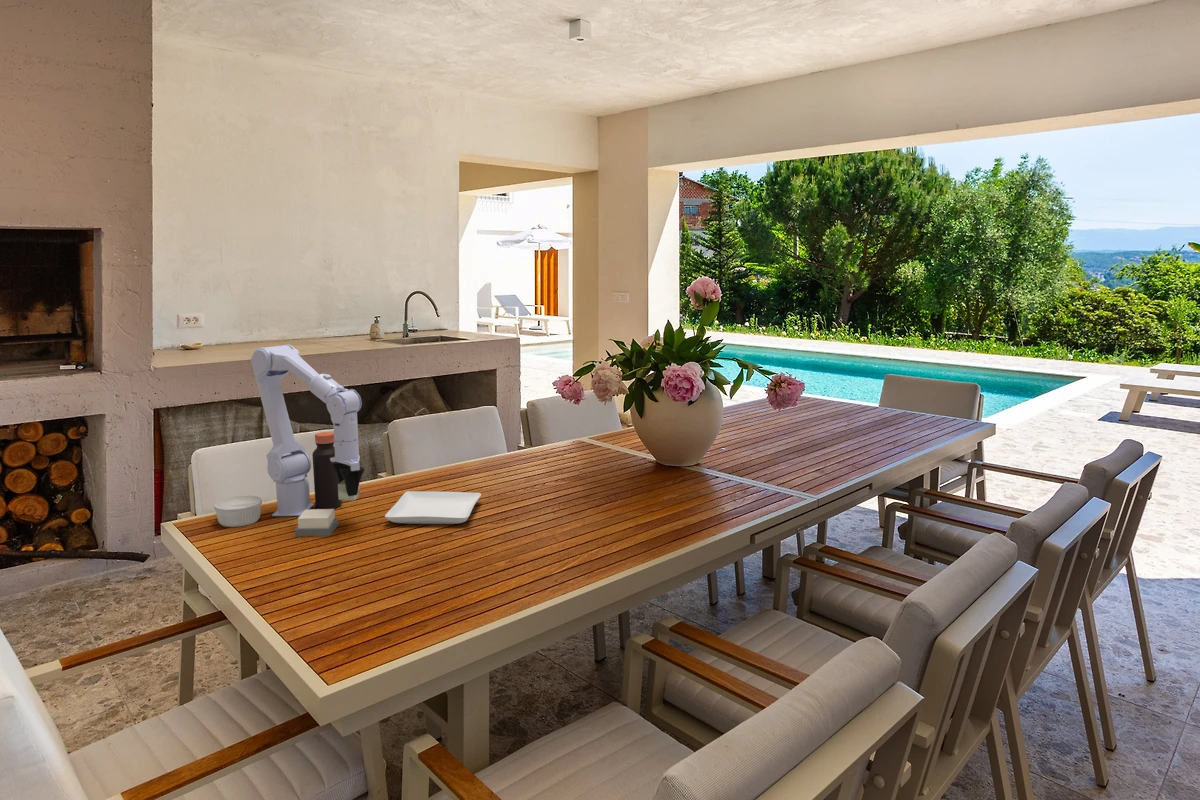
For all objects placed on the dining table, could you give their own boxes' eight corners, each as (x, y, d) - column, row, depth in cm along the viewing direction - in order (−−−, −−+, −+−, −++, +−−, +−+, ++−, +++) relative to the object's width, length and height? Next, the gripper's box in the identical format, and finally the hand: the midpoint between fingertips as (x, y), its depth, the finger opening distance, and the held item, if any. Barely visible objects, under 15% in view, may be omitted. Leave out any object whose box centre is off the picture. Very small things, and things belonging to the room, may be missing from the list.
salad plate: (468, 529, 196) (467, 516, 196) (383, 528, 197) (383, 515, 196) (482, 503, 217) (482, 491, 216) (406, 502, 217) (405, 490, 217)
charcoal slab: (306, 528, 197) (305, 518, 197) (338, 527, 198) (337, 518, 197) (295, 539, 190) (295, 529, 189) (329, 538, 190) (328, 528, 190)
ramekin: (229, 532, 193) (227, 511, 192) (206, 523, 200) (205, 503, 199) (272, 520, 202) (270, 500, 201) (249, 512, 208) (247, 492, 207)
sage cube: (344, 495, 200) (343, 480, 199) (360, 495, 199) (359, 480, 199) (338, 499, 196) (337, 484, 195) (354, 500, 195) (353, 484, 195)
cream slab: (305, 519, 197) (305, 509, 196) (334, 518, 197) (334, 508, 197) (298, 528, 190) (297, 518, 189) (328, 527, 190) (327, 517, 190)
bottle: (314, 504, 215) (309, 432, 211) (340, 501, 218) (336, 430, 214) (316, 511, 209) (312, 437, 205) (343, 507, 212) (339, 435, 208)
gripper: (322, 435, 199) (325, 487, 201) (337, 447, 187) (340, 502, 189) (350, 432, 202) (353, 483, 205) (367, 443, 190) (369, 497, 193)
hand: (349, 492), depth 197 cm, fingers closed on sage cube, 6 cm apart
